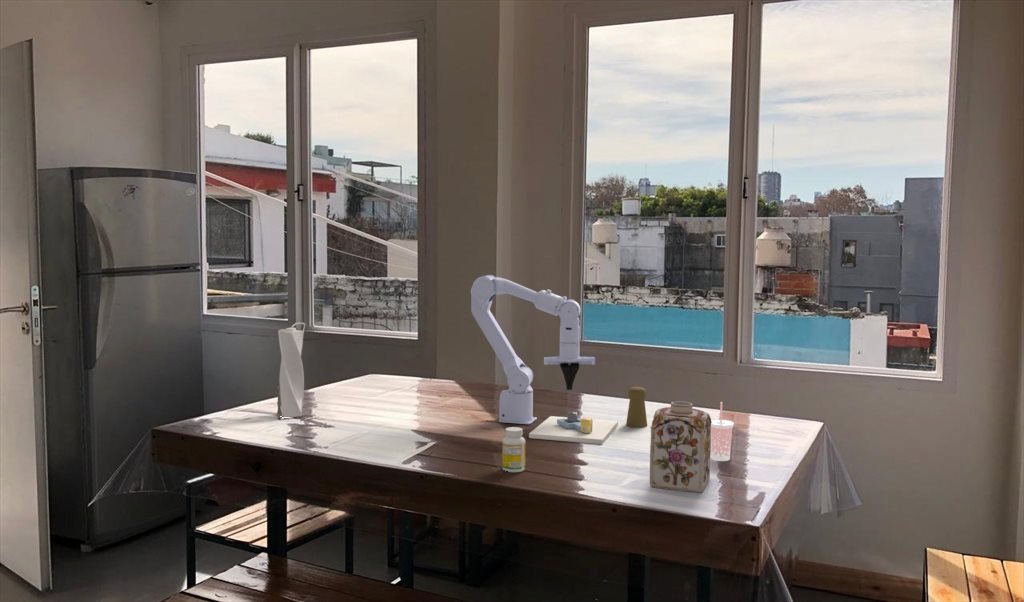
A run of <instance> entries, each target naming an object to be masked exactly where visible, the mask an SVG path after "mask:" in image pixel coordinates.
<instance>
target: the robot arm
mask: <svg viewBox="0 0 1024 602" xmlns="http://www.w3.org/2000/svg"><path fill="white" fill-rule="evenodd" d="M469 292H470V296H471V299H470V300H471V305H470V306H471V308H470V309H471V314H472V316H473V318H474V320H475V322H476V323H477V324H478V327H479V328H480V330H481V332H482V333H483V335H484V337H485V338H486V339H487V341H488V343H489V344H490V346H491V348H492V350H493V351H494V352H495V353H494V354H495V355H496V357H497V358H498V360H499V361H500V363H501V364H502V369H503V373H504V374H505V377H506V378H507V379H506V381H507V386H508V389H503V390H501V391H500V395H499V399H498V400H499V401H498V402H499V407H498V408H499V409H498V411H499V415H498V416H499V417H498V418H499V419H498V422H499V423H508V424H519V425H531V424H532V423H534V422H535V421H536V420H537V419H538V417H536V416H533V415H534V414H533V411H534V409H533V408H534V399H533V398H534V388H532V386H531V383H532V382H533V380H534V372H533V370H532V369H531V368H530V367H528V366H527V365H526V364H525V363H524V361H523V360H522V359H521V358H520V357H519V356H518V355H517V354H516V352H515V350H514V348H513V347H512V346H513V345H512V344H511V343H510V341H509V340H508V338H507V336H506V334H505V333H504V332H503V331H504V330H502V328H501V326H500V325H499V324H498V321H497V320H496V318H495V316H494V314H493V313H492V312H491V307H492V303H493V302H494V301H493V300H494V299H495V297H496V296H498V295H499V296H500V295H505V294H508V295H509V296H510V295H511V296H513V297H517V298H520V299H522V300H525V301H528V302H531V303H533V304H534V307H535V309H537V310H539V311H542V312H544V313H547V314H550V315H552V316H555V317H558V316H559V319H560V325H559V355H558V356H546V357H545V356H544V357H543V365H544V366H548V365H559V367H560V370H561V373H562V374H563V377H564V380H565V386H566V387H565V388H566V390H567V391H572V390H573V385H574V381H575V378H576V376H577V373H578V371H579V369H580V365H592V366H594V365H595V366H596V357H595V356H580V342H581V341H580V339H581V336H580V335H581V334H580V333H581V331H580V330H581V329H580V328H581V327H580V314H581V311H582V310H581V306H580V303H578V302H577V301H576V300H575V299H572V298H571V299H568V297H567V296H566V295H564V296H561V295H558V294H555V293H553V292H552V290H551V289H546V290H545V289H541V290H540V291H538V292H537V291H535V290H533V289H531V288H529V287H525V286H523V285H521V284H519V283H517V282H514V281H512V280H509V279H506V278H503V277H500V276H494V275H493V274H486V275H483V276H479V277H478V278H476V279H475V280H474V281H473V284H472V286H471V289H470V291H469Z"/></svg>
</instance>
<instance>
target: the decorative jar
mask: <svg viewBox="0 0 1024 602" xmlns="http://www.w3.org/2000/svg"><path fill="white" fill-rule="evenodd" d="M711 420H712V418H711V416H710V414H709V413H708V412H706V411H704V410H701V409H697V408H693V403H691V402H689V401H679V400H677V401H671V402H670V407H668V406H667V407H663V408H662V407H661V408H658V409H657V410H655V411H654V415H653V419H652V421H651V422H652V423H651V426H650V445H649V446H650V447H649V448H650V449H649V486H650V488H655V487H659V488H658V489H663V488H667V489H666V490H671V489H674V490H673V491H679V490H682V491H681V492H688V491H690V492H689V493H697V492H698V494H701V493H703V492H704V490H705V488H706V485H707V484H708V481H709V479H710V478H711V477H710V473H711V472H710V471H711V458H710V455H711V423H712V421H711Z"/></svg>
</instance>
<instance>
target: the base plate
mask: <svg viewBox="0 0 1024 602" xmlns="http://www.w3.org/2000/svg"><path fill="white" fill-rule="evenodd" d="M566 418H567V417H566V416H554V415H550V416H549V417H548V418H546V419H545V420H544V421H543V422H541V423H540V424H539V425H538V426H537V427H535V428H534V429H532V430H531V431H530V432H529V433H528V439H534V440H535V439H536V440H537V439H538V440H548V441H549V440H550V441H560V442H571V443H572V442H573V443H581V444H582V443H585V444H597V445H604V443H605V442H606V441H607V440H608V438H609V437H610V436H611V435H612V433H613V432H614V431H615V430H616V428H617V427H618V426H619V420H609V419H608V420H607V419H593V418H592V419H593V421H592V432H590V433H583V432H581V431H579V430H577V429H575V428H569V429H567V428H565V427H563V426H561V425H559V424H557V419H566ZM579 418H580V419H582V418H583V417H582V418H581V417H579Z"/></svg>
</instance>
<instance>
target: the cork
mask: <svg viewBox="0 0 1024 602" xmlns="http://www.w3.org/2000/svg"><path fill="white" fill-rule="evenodd" d="M627 396H628V397H629V403H628V409H627V415H626V424H625V425H626V426H627V427H629V428H636V429H637V428H638V429H640V428H643V429H644V428H646V427H648V420H647V411H646V402H645V398H646V397H647V390H646V388H644V387H642V386H632V387H631V386H630V388H629V389H628V390H627Z"/></svg>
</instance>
